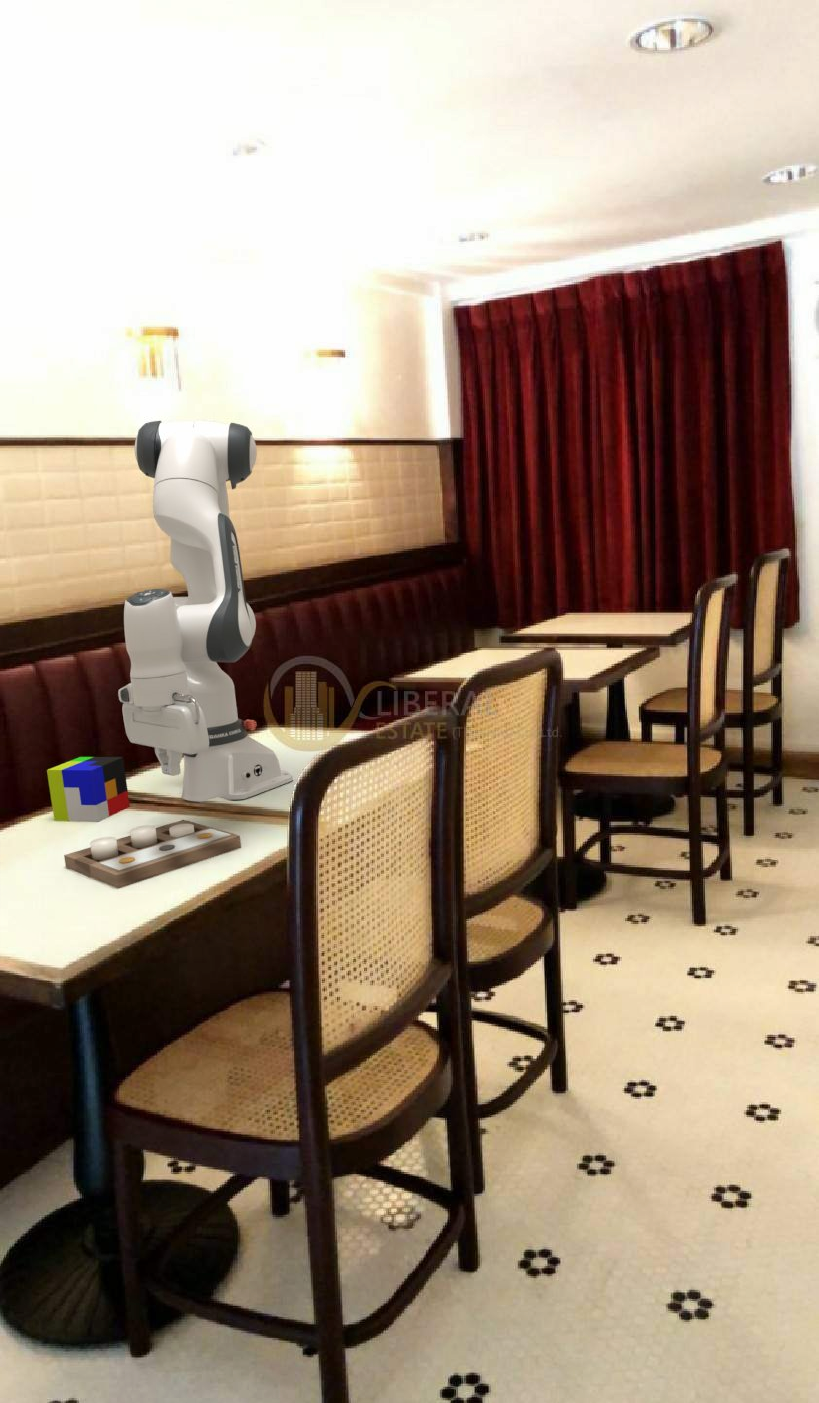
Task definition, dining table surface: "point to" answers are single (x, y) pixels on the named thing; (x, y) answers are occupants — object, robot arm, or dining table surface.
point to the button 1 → (104, 848)
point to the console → (154, 855)
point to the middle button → (143, 836)
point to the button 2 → (181, 830)
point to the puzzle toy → (88, 789)
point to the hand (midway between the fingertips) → (171, 774)
